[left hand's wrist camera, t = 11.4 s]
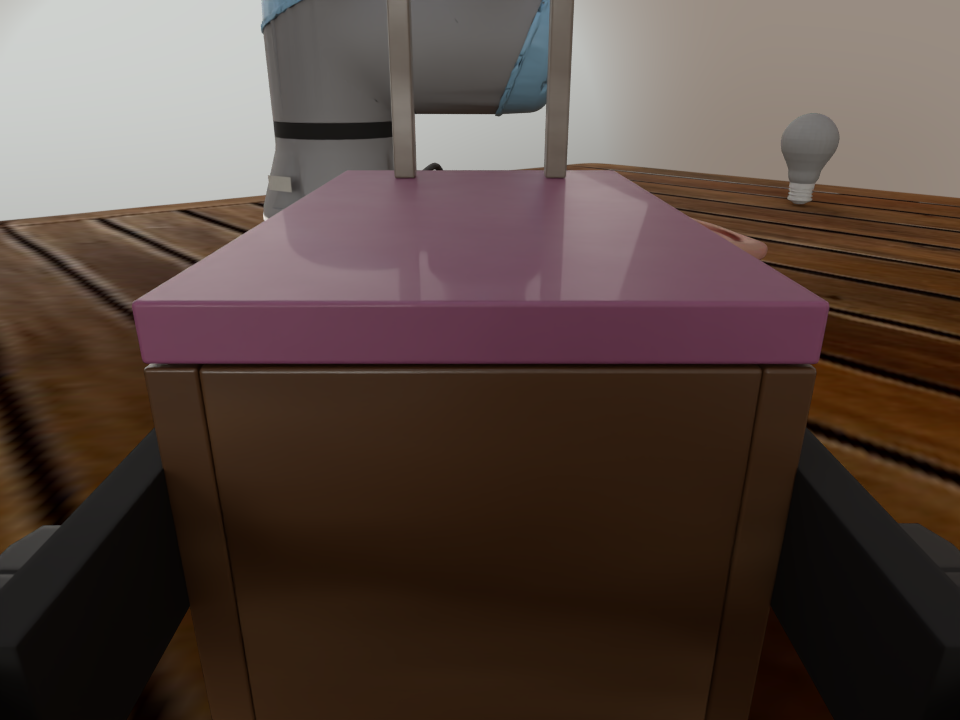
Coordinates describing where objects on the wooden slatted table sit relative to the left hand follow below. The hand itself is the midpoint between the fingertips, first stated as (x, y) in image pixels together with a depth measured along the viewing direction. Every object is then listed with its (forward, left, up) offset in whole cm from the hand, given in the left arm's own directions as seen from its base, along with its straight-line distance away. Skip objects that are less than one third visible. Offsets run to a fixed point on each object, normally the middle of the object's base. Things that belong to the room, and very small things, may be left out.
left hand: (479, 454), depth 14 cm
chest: (-4, +4, -6) cm, 8 cm away
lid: (-4, +4, +3) cm, 6 cm away
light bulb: (-25, +75, -6) cm, 79 cm away
